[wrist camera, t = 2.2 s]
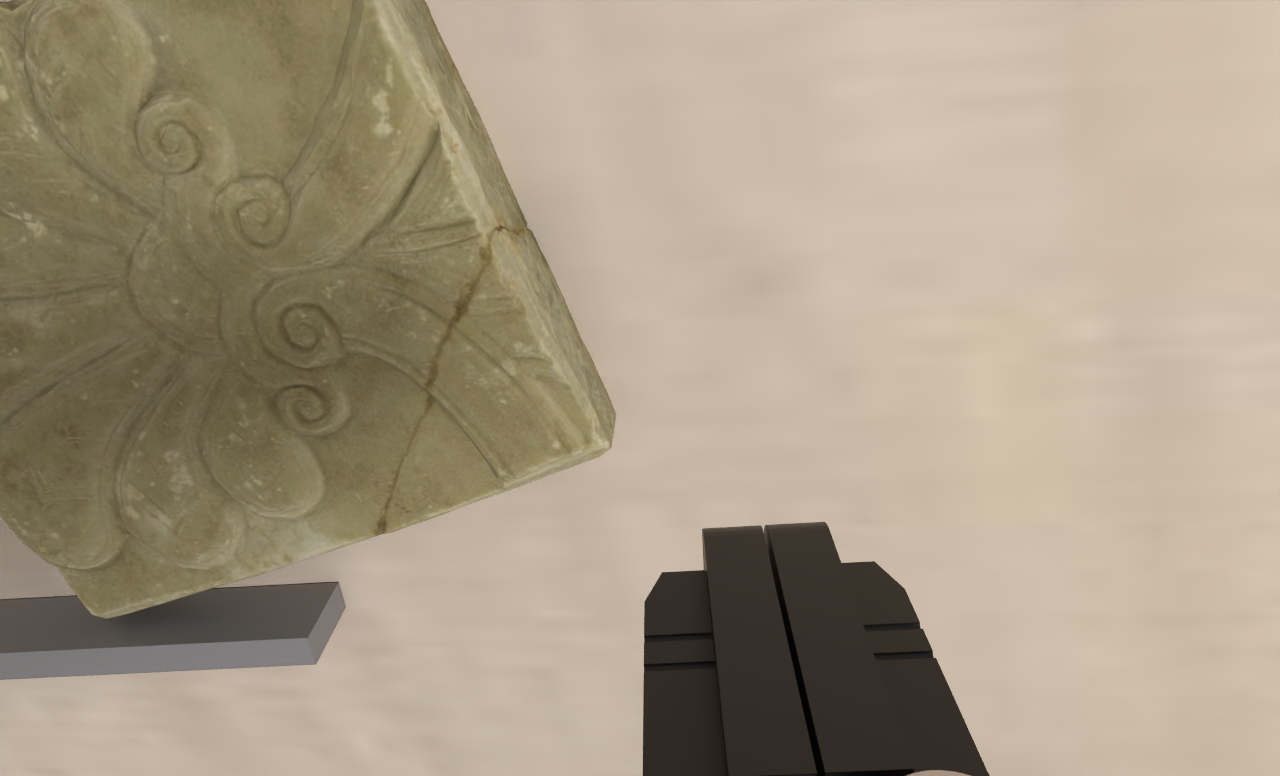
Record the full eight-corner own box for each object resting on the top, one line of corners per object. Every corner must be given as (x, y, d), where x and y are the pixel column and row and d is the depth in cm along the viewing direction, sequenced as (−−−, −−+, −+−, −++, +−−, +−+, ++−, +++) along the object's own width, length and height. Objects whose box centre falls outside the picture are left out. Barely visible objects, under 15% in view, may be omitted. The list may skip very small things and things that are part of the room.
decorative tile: (622, 420, 28) (619, 473, 25) (139, 578, 31) (79, 644, 28) (365, -185, 21) (312, -224, 17) (-232, 101, 24) (-373, 113, 20)
